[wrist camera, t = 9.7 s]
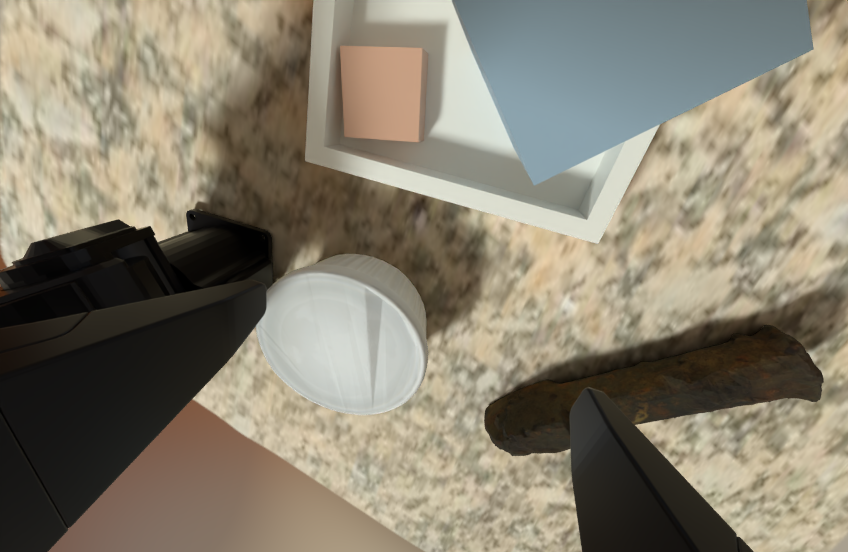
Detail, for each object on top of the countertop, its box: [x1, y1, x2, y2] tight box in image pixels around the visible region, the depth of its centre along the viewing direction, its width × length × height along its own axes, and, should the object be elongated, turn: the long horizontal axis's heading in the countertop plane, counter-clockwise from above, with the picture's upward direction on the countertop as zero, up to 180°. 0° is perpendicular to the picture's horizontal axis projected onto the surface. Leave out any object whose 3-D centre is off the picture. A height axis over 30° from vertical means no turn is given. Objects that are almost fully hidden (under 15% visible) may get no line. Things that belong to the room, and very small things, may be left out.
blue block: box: [452, 0, 813, 186], centre depth 11 cm, size 5×5×11 cm
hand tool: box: [484, 325, 823, 456], centre depth 21 cm, size 19×4×5 cm, turn 117°
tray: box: [305, 0, 659, 244], centre depth 16 cm, size 16×12×3 cm
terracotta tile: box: [340, 46, 428, 142], centre depth 17 cm, size 4×4×2 cm
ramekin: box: [256, 254, 428, 415], centre depth 23 cm, size 11×11×5 cm
